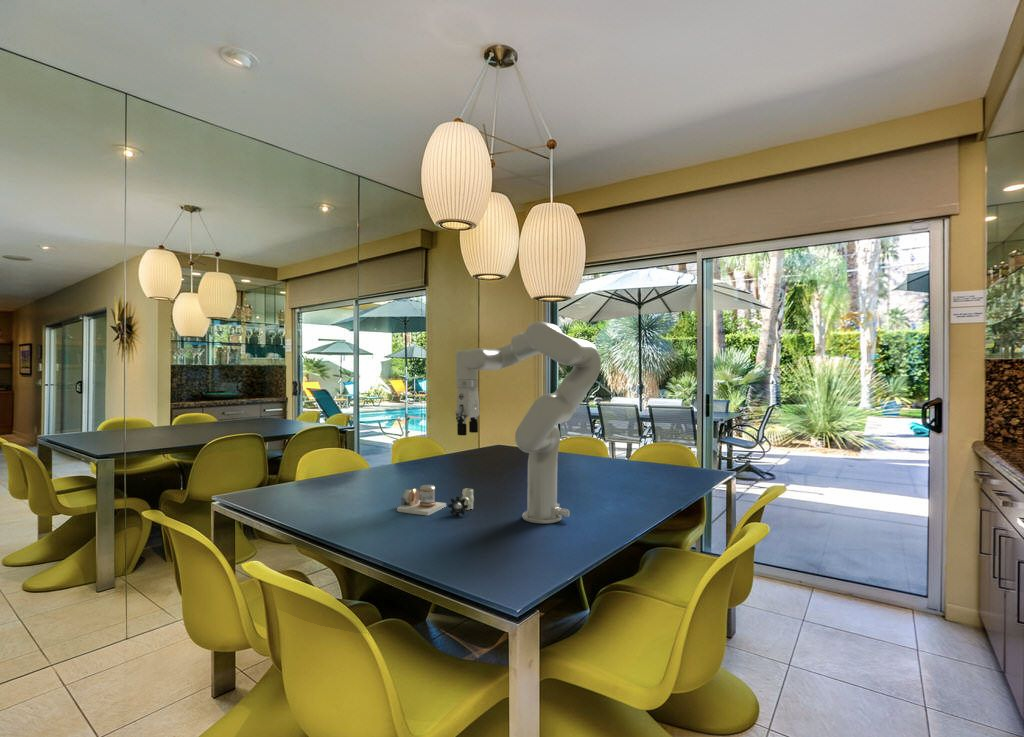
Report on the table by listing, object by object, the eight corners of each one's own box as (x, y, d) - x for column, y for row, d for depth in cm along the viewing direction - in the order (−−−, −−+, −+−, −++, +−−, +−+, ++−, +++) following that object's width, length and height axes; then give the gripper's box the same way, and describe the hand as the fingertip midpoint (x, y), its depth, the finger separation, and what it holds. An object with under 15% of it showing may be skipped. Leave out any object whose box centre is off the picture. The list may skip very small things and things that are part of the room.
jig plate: (446, 506, 174) (446, 502, 174) (427, 515, 163) (428, 511, 163) (416, 503, 178) (416, 499, 178) (396, 511, 167) (396, 507, 167)
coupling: (438, 504, 171) (438, 485, 171) (430, 508, 166) (430, 488, 166) (424, 502, 173) (425, 484, 173) (416, 506, 168) (416, 487, 168)
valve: (460, 506, 175) (447, 516, 163) (461, 487, 175) (448, 495, 163) (478, 508, 173) (467, 517, 161) (479, 489, 173) (467, 497, 161)
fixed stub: (419, 506, 174) (419, 487, 174) (409, 510, 169) (410, 490, 169) (410, 504, 176) (410, 486, 176) (400, 509, 170) (400, 489, 170)
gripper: (466, 385, 167) (467, 436, 167) (486, 384, 184) (487, 431, 183) (446, 385, 170) (447, 436, 169) (467, 385, 186) (468, 431, 186)
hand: (468, 433), depth 176 cm, fingers open, 9 cm apart
